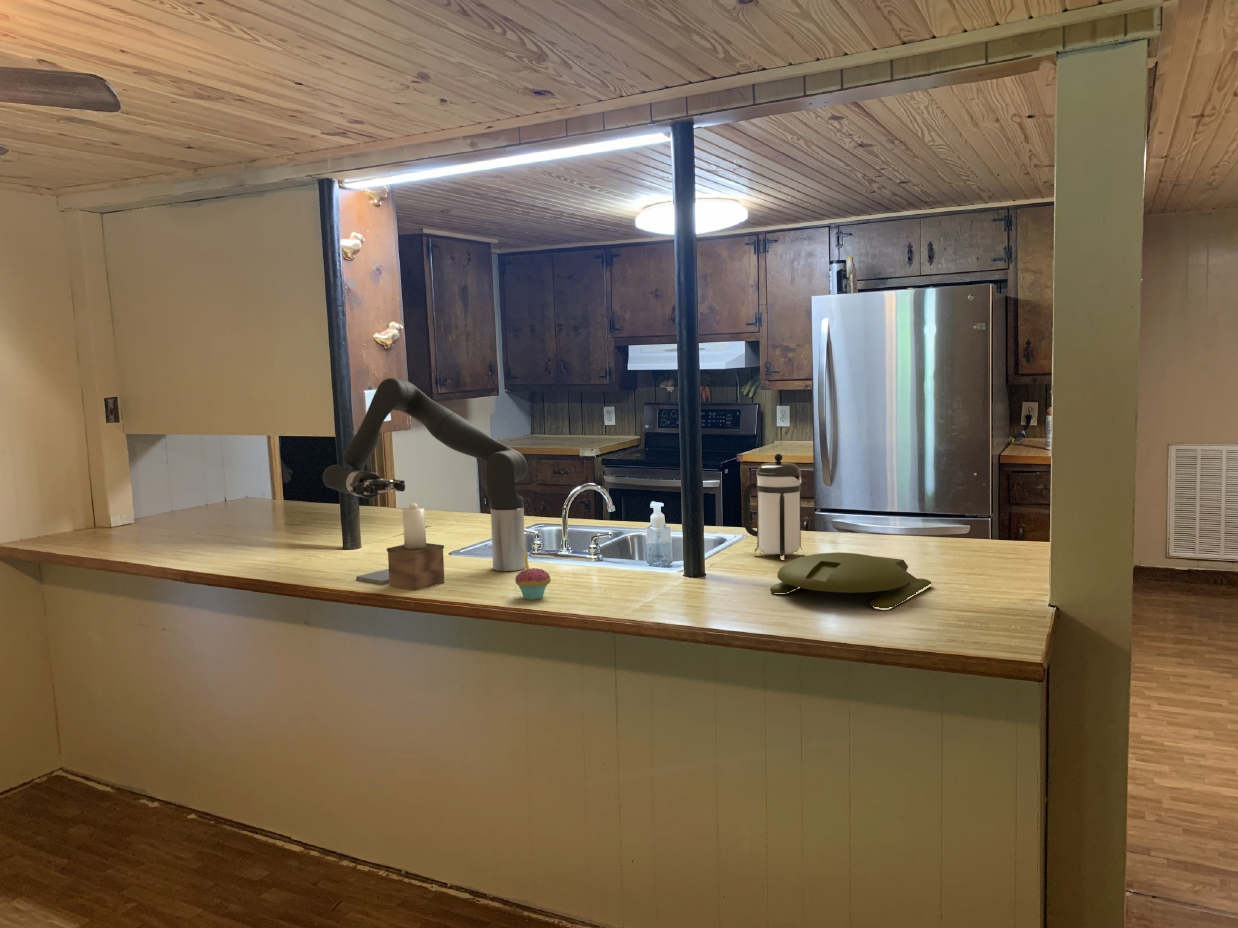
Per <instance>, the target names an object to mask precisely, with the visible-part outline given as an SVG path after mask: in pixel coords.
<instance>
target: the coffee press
mask: <svg viewBox="0 0 1238 928" xmlns="http://www.w3.org/2000/svg"><path fill="white" fill-rule="evenodd" d="M774 460H775V462H772V461H771V462H764V463H762V464H761V465H759V466H758V469H757V471H755V474H756V477H757V482H752V483H749V484H748V485H746V487H745V489H744V492H743V496H742V497H743V500H742V501H743V502H742V504H743V505H742V506H743V509H742V511H743V512H742V513H743V525H744V528H745V531H746V532H747V533H748V534H749V535H750V536H752V537H756V548H755V549H754V551H755V553H756V552H757V550H759V551H760V552H763V553H762V554H767V555H775V554H780V556H783V555H785V556H786V555H792V554H795V553H794V552H799V550H800V549H801V550H803V549H802V540H801V537H802V536H801V534H802V533H801V532H802V531H801V530H802V529H801V525H802V524H801V521H802V520H801V519H802V518H801V517H802V516H801V506H802V505H801V500H802V498H801V484H802V477H801V475H802V471H801V470H800V469H799V466H798V465H796V464H795V463H793V462H785V461H782V460H783V455H782V454H780V453H777V454H775V455H774ZM754 489H755V490H756V525H757V526H756V530H755V529H754V528H753V527H752V524H751V494H752V491H753V490H754ZM791 553H792V554H791ZM780 556H779V557H780Z"/></svg>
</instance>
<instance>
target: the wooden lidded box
mask: <svg viewBox="0 0 1238 928" xmlns="http://www.w3.org/2000/svg"><path fill="white" fill-rule="evenodd" d="M444 549H445V545H443V544H437V543H429V542H426V547H424V548H418V549H407V548H405V547H404V544H400V545H396V546H392V547H387V548H386V552H387V561H388V563H387V564H388V569H389V583H388V585H389V587H394V588H400V589H406V590H411V591H419V590H423V589H427V588H430V587H434V586H437V585H441V584H444V583H445V563H444V562H445V561H444ZM436 584H437V585H436Z"/></svg>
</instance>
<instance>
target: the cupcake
mask: <svg viewBox="0 0 1238 928" xmlns="http://www.w3.org/2000/svg"><path fill="white" fill-rule="evenodd" d="M523 551H524V549H523ZM523 554H524V559H525V564H526V567H525V569H522V571H521V570H520V571H519V572H518V573H517V575H516V576H515V580H514V581H515V584H516V585H517V586H518V587H519V589H520V591H521V594H522V597H523V599H524V600H531V601H532V600H539V599H542V598H543V597H544V595H545V591H546V587H547V586H548V585H549V584H551V581H552V579H551V576H550V573H548V572H547V571H546V570H544V569H542V568H538V567H537V568H530V567H529V562H528V561H527V555H526V552H524V553H523Z"/></svg>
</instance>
